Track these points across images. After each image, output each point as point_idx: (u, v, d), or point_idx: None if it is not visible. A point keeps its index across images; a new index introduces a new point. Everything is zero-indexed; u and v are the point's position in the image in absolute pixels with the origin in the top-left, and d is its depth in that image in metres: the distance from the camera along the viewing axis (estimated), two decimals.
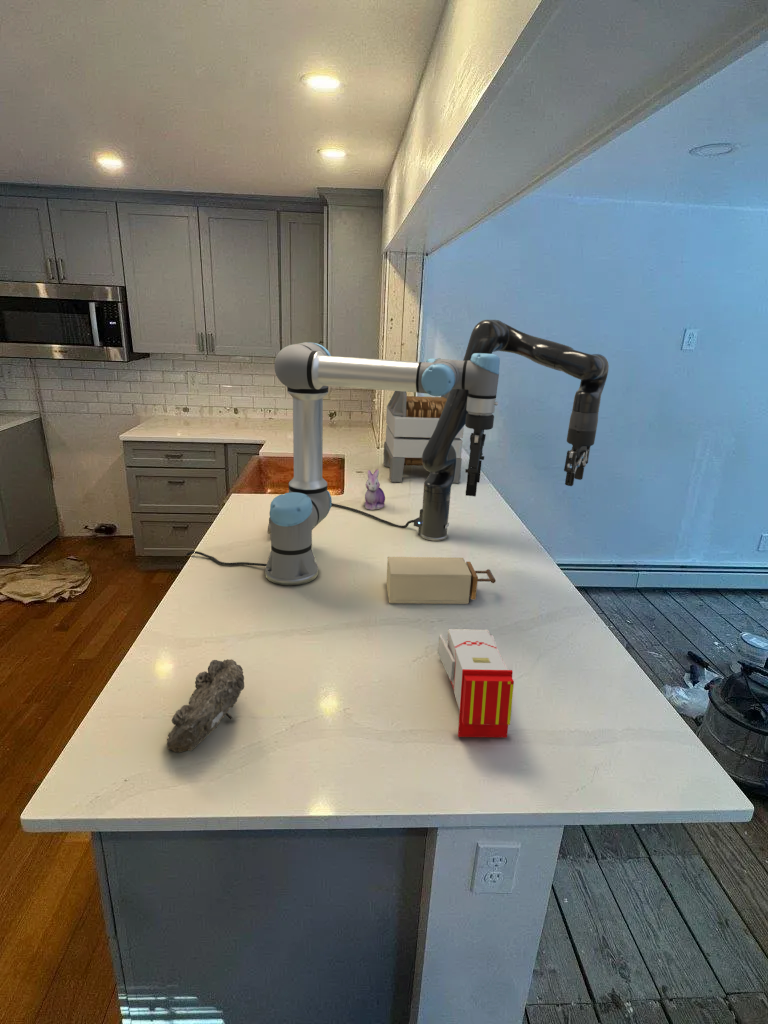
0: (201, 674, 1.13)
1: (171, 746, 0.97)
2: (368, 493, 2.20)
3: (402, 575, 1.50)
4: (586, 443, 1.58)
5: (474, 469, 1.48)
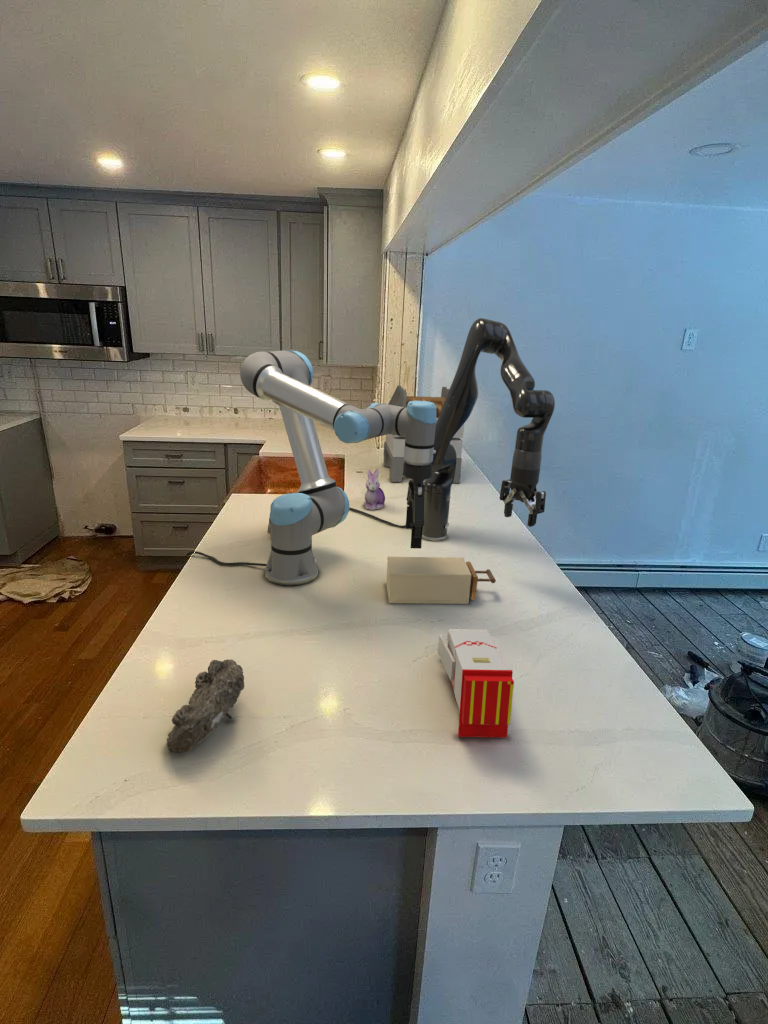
0: (201, 674, 1.13)
1: (171, 746, 0.97)
2: (368, 493, 2.20)
3: (402, 575, 1.50)
4: (510, 477, 1.55)
5: (421, 522, 1.42)
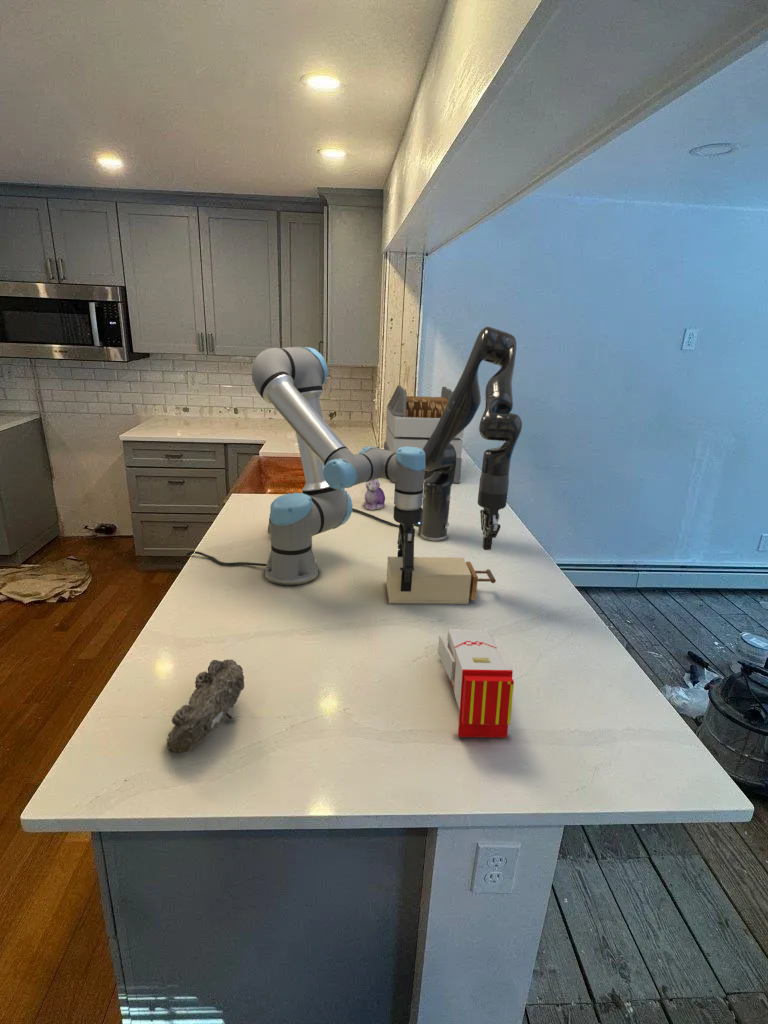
0: (201, 674, 1.13)
1: (171, 746, 0.97)
2: (368, 493, 2.20)
3: None
4: None
5: (410, 568, 1.46)
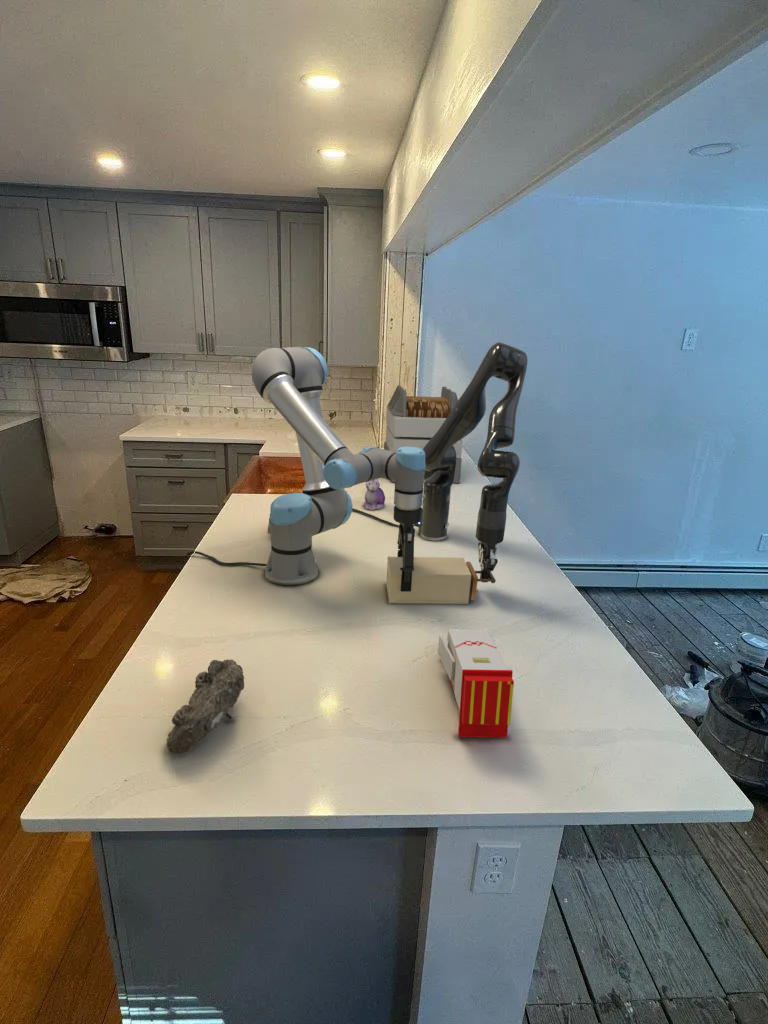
0: (201, 674, 1.13)
1: (171, 746, 0.97)
2: (368, 493, 2.20)
3: None
4: None
5: (410, 568, 1.46)
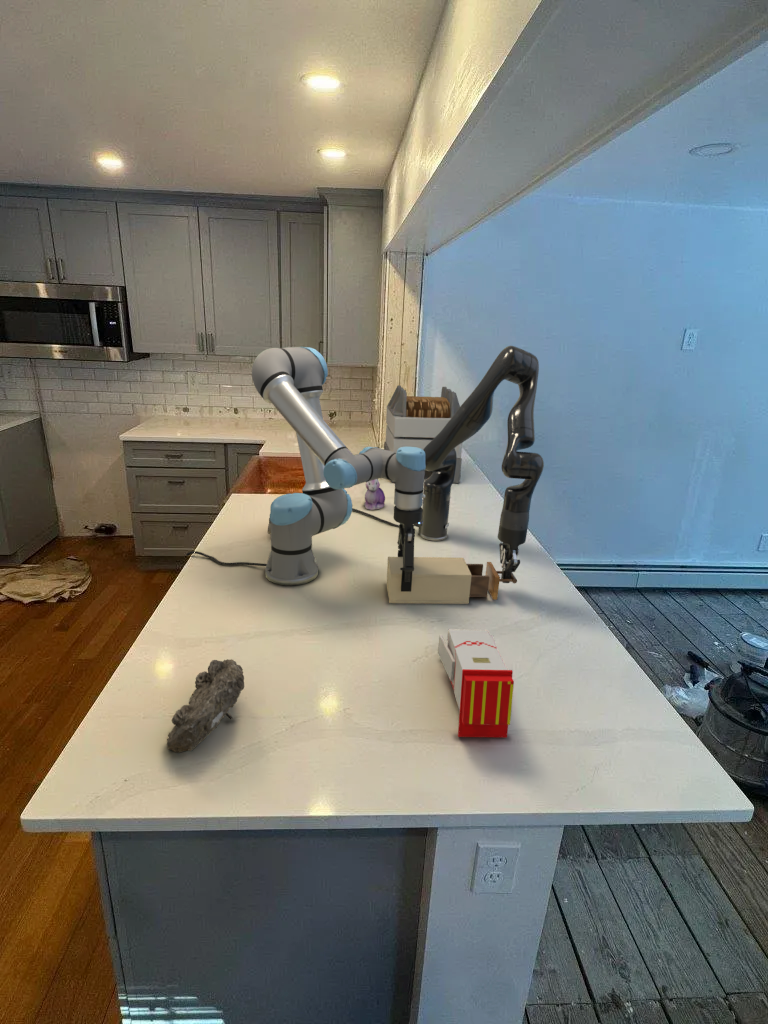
0: (201, 674, 1.13)
1: (171, 746, 0.97)
2: (368, 493, 2.20)
3: None
4: None
5: (410, 568, 1.46)
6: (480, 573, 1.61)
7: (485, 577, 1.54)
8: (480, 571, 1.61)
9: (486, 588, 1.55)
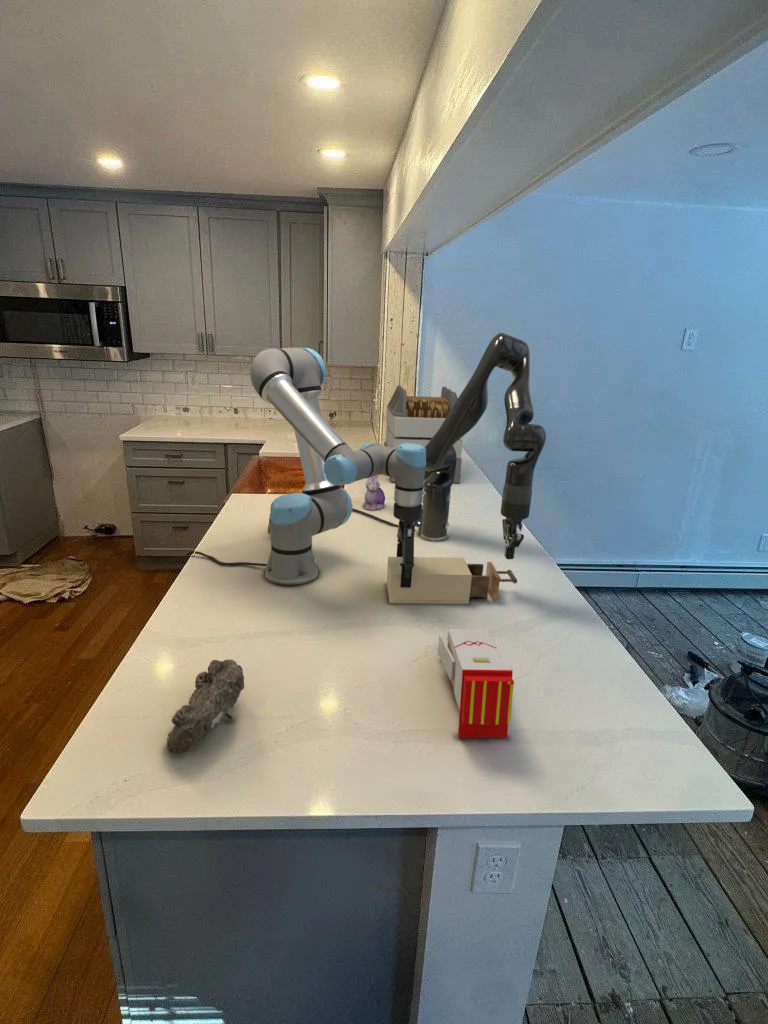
0: (201, 674, 1.13)
1: (171, 746, 0.97)
2: (368, 493, 2.20)
3: None
4: None
5: (410, 564, 1.44)
6: (480, 573, 1.61)
7: (485, 577, 1.54)
8: (480, 571, 1.61)
9: (486, 588, 1.55)
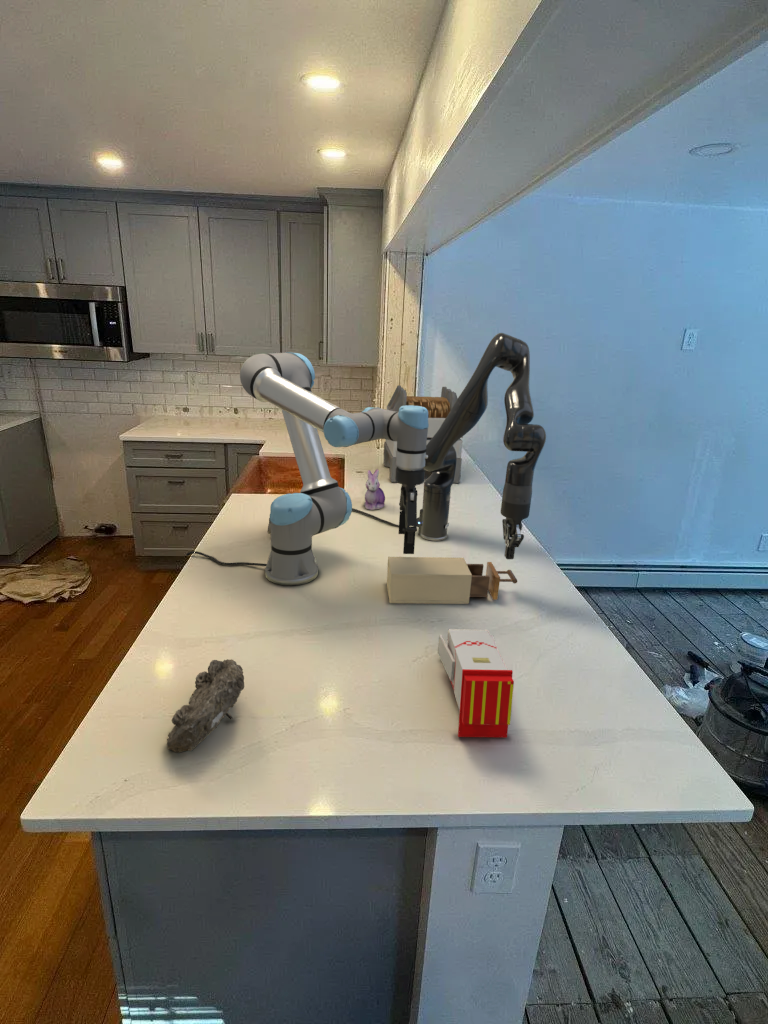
0: (201, 674, 1.13)
1: (171, 746, 0.97)
2: (368, 493, 2.20)
3: (402, 575, 1.50)
4: None
5: (413, 528, 1.41)
6: (480, 573, 1.61)
7: (485, 577, 1.54)
8: (480, 571, 1.61)
9: (486, 588, 1.55)
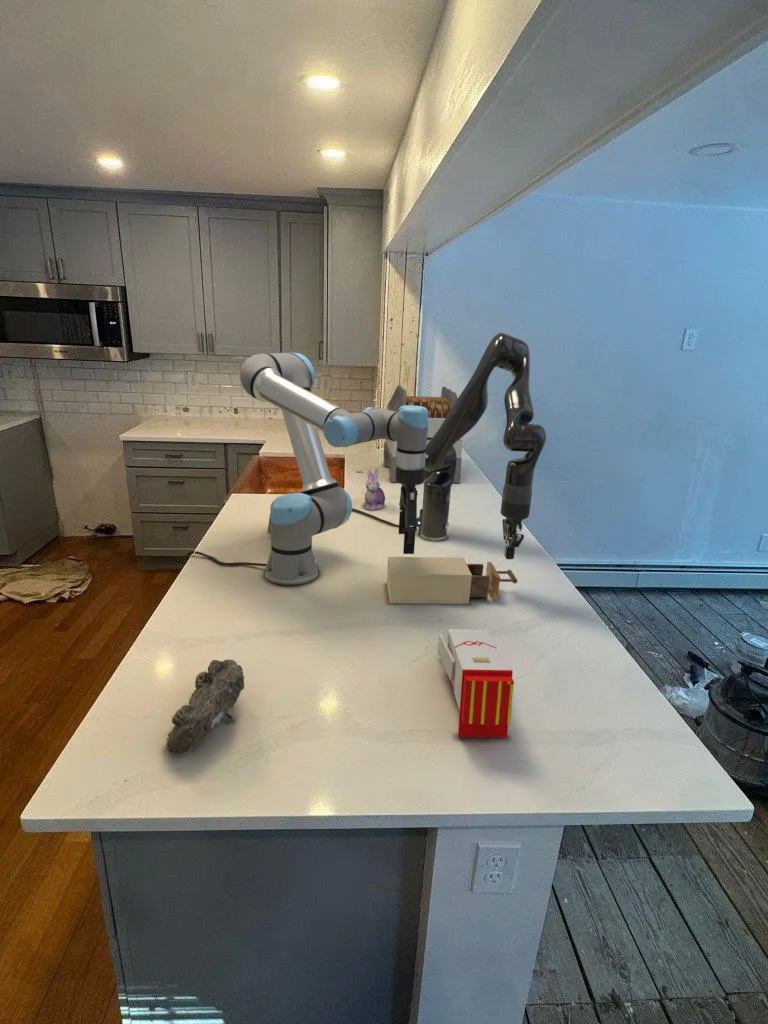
0: (201, 674, 1.13)
1: (171, 746, 0.97)
2: (368, 493, 2.20)
3: (402, 575, 1.50)
4: None
5: (413, 528, 1.41)
6: (480, 573, 1.61)
7: (485, 577, 1.54)
8: (480, 571, 1.61)
9: (486, 588, 1.55)
